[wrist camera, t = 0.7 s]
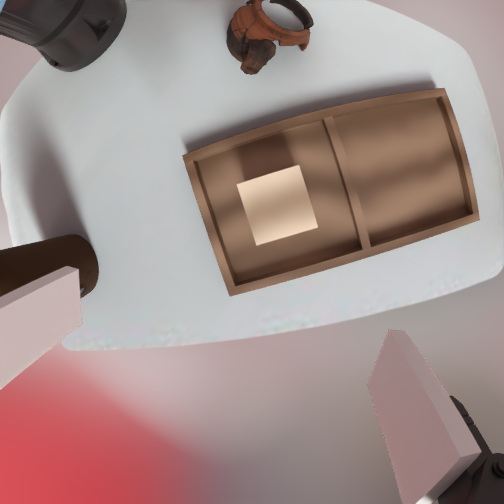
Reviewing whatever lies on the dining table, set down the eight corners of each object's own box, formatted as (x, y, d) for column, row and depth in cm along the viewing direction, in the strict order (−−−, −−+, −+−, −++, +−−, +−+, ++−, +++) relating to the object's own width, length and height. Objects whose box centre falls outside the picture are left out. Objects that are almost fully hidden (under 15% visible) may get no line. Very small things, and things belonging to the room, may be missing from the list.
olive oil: (44, 250, 39) (-79, 297, 14) (81, 216, 36) (-70, 255, 12) (74, 307, 40) (-39, 384, 16) (114, 281, 38) (-22, 368, 14)
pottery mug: (229, 15, 29) (253, -23, 21) (291, 40, 32) (324, 9, 25) (206, 79, 28) (229, 39, 21) (280, 105, 32) (318, 76, 24)
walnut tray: (188, 157, 33) (182, 155, 31) (436, 92, 27) (444, 87, 25) (233, 290, 36) (229, 296, 34) (470, 217, 30) (479, 219, 28)
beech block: (245, 185, 32) (236, 184, 27) (296, 169, 31) (298, 164, 26) (261, 235, 33) (256, 245, 28) (312, 220, 32) (318, 227, 27)
